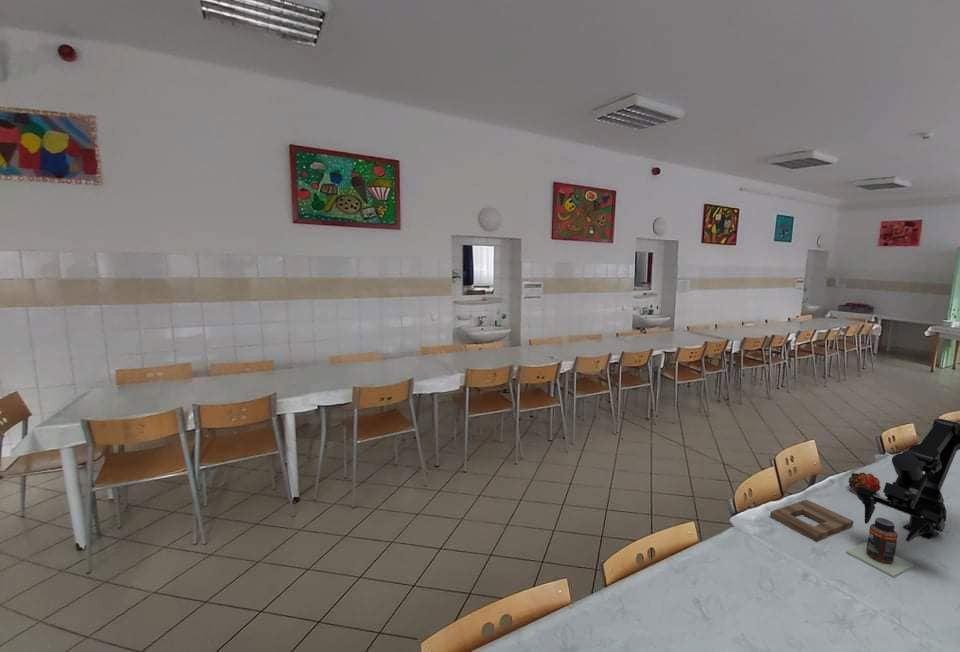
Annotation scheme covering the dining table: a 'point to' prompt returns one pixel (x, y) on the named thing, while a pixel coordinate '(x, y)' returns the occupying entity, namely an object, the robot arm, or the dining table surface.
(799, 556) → the dining table surface
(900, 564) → the sage pad
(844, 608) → the dining table surface
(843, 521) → the socket board
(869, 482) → the dragon fruit
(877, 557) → the supplement bottle
